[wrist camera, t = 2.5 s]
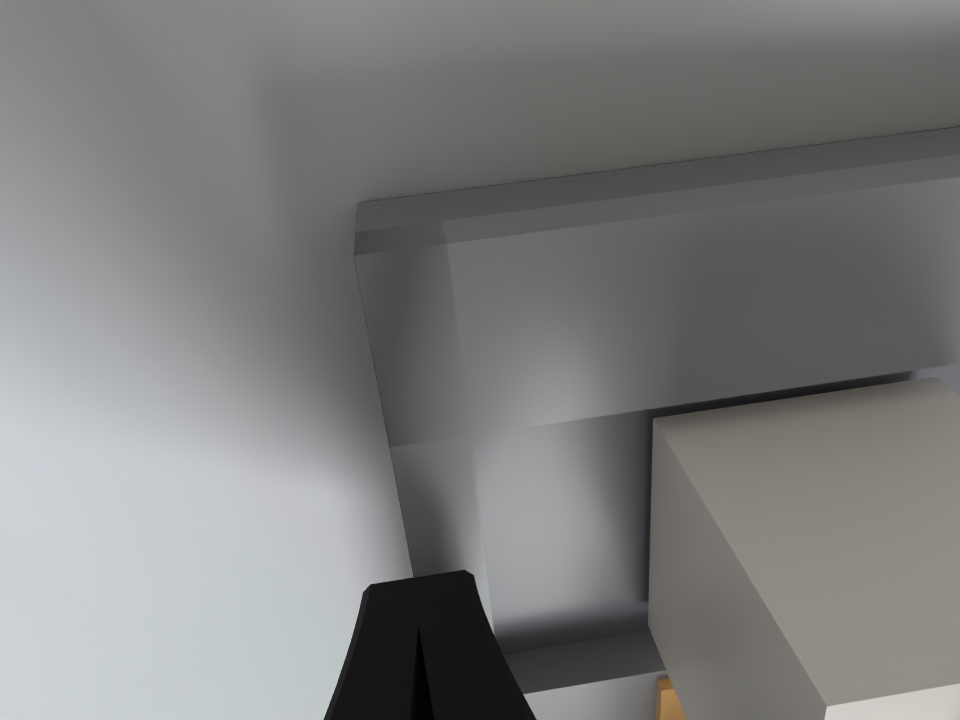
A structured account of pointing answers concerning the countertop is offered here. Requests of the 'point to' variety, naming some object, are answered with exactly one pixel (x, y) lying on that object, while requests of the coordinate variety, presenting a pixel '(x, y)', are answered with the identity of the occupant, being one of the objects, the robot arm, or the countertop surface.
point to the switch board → (631, 364)
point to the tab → (810, 556)
